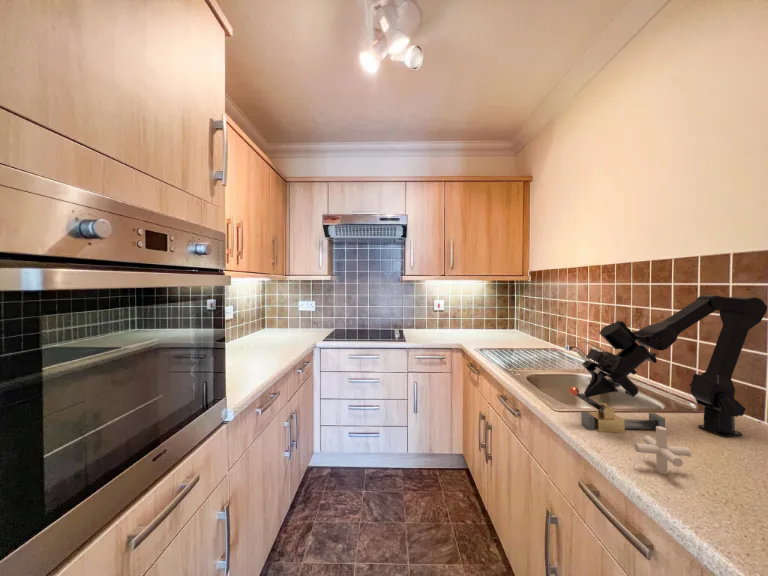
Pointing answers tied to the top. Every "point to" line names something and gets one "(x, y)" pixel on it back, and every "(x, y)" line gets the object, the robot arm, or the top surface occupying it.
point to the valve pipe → (617, 421)
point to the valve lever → (586, 399)
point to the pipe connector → (662, 450)
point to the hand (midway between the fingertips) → (585, 395)
